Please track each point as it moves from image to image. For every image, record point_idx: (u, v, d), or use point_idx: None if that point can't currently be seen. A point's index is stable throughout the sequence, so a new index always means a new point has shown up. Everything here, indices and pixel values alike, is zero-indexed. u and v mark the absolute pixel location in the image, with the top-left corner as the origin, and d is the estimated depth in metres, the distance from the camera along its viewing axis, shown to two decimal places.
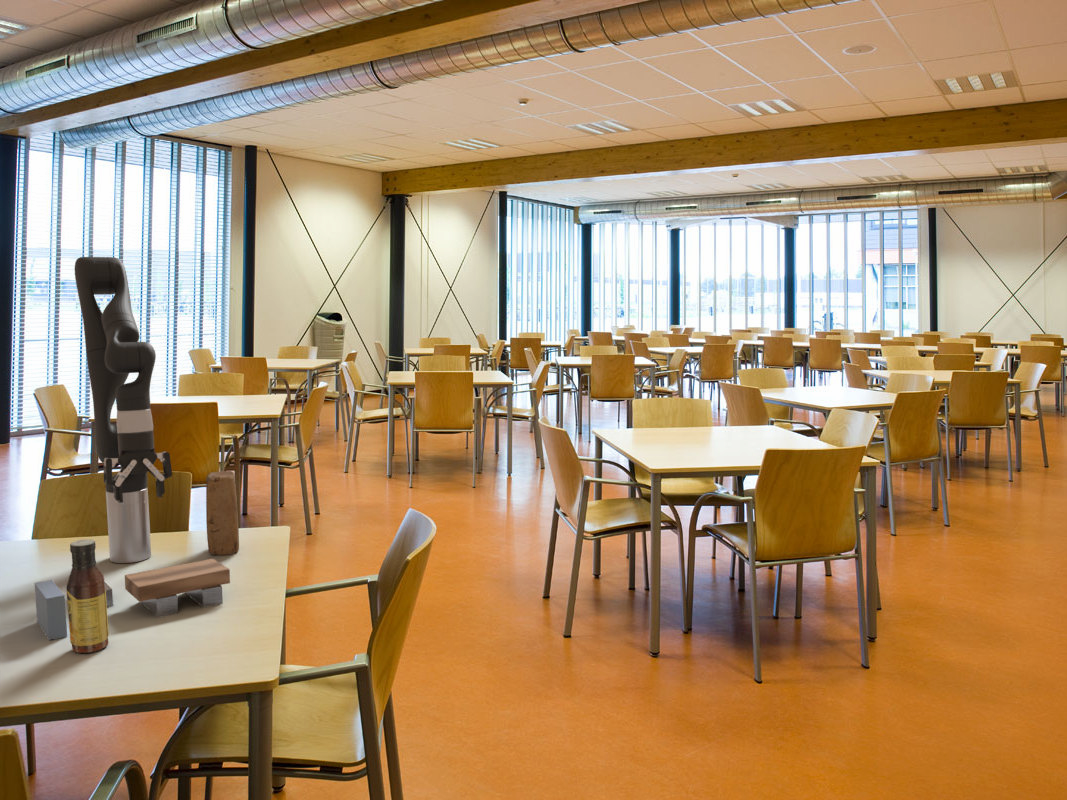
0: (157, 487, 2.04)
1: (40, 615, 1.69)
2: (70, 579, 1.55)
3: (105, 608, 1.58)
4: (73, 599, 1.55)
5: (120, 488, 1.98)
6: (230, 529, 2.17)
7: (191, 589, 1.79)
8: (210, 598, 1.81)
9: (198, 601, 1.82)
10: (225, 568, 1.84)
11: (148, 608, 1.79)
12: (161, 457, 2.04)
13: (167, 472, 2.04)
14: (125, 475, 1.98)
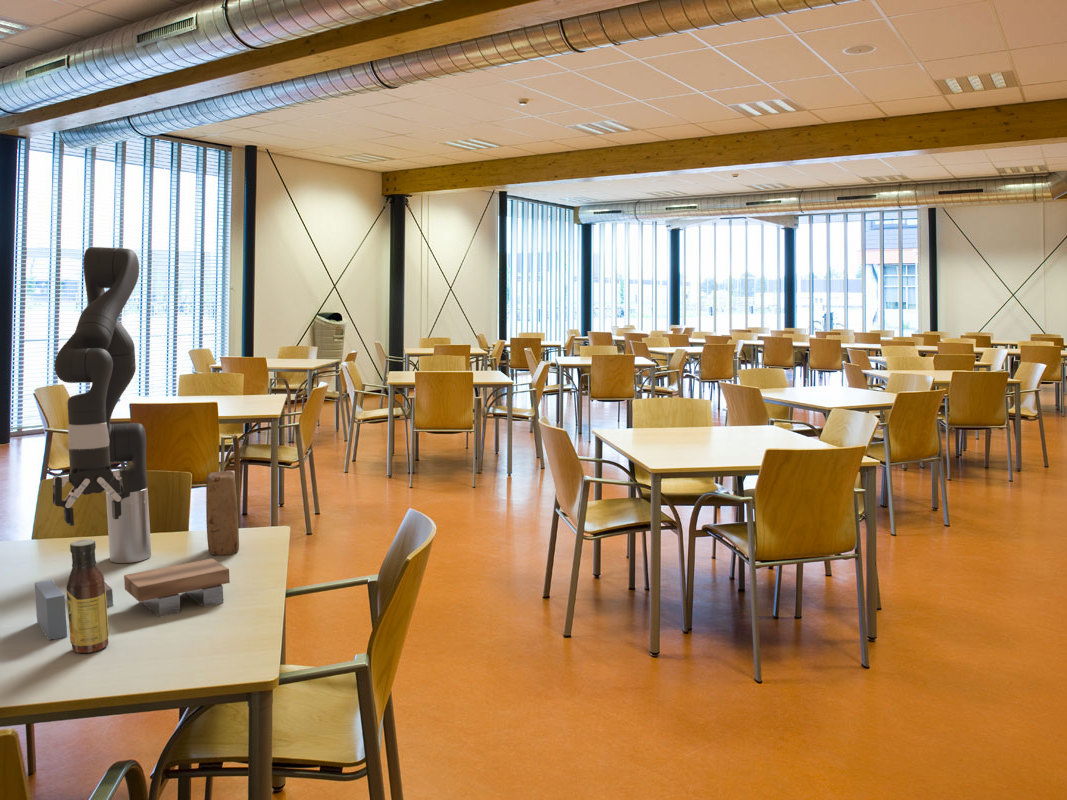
0: (113, 508, 1.85)
1: (40, 615, 1.69)
2: (70, 579, 1.55)
3: (105, 608, 1.58)
4: (73, 599, 1.55)
5: (71, 510, 1.79)
6: (230, 529, 2.17)
7: (191, 589, 1.79)
8: (211, 598, 1.81)
9: (199, 601, 1.83)
10: (225, 568, 1.84)
11: (150, 608, 1.79)
12: (118, 475, 1.85)
13: (124, 492, 1.86)
14: (77, 495, 1.79)
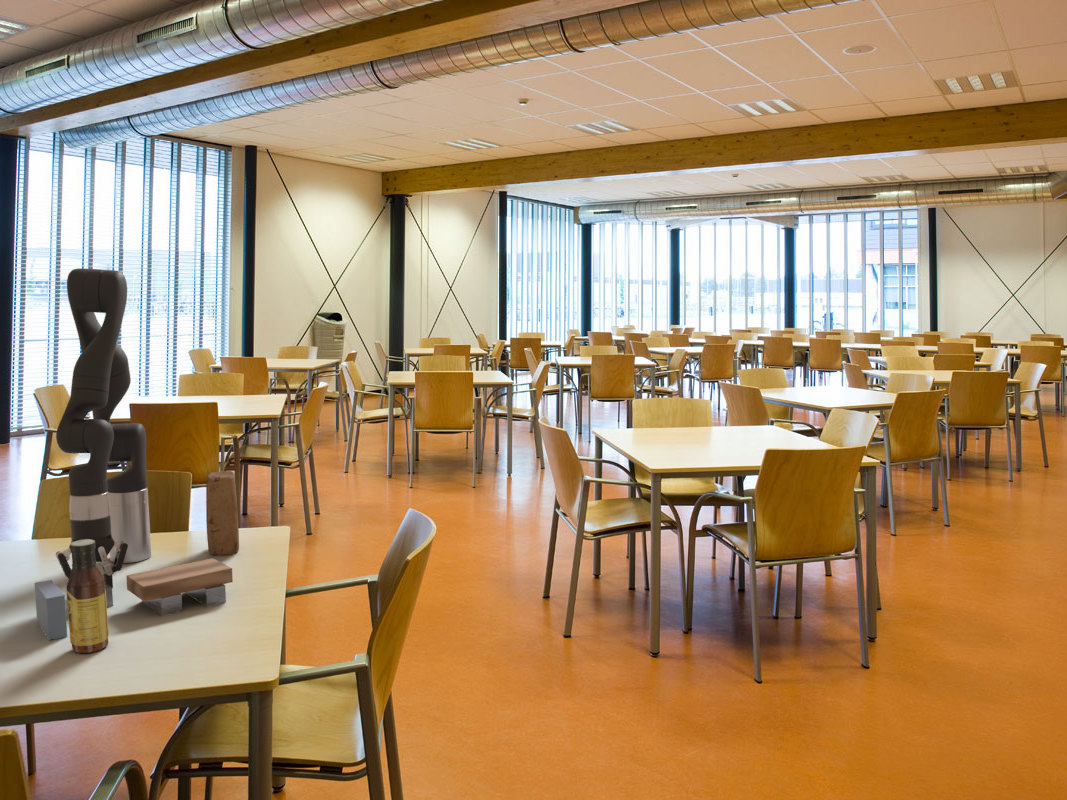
0: (105, 581, 1.86)
1: (40, 615, 1.69)
2: (70, 579, 1.55)
3: (105, 608, 1.58)
4: (73, 599, 1.55)
5: None
6: (230, 529, 2.17)
7: (195, 588, 1.80)
8: (214, 597, 1.82)
9: (201, 601, 1.83)
10: (227, 567, 1.85)
11: (151, 607, 1.80)
12: (118, 547, 1.86)
13: (116, 565, 1.86)
14: None
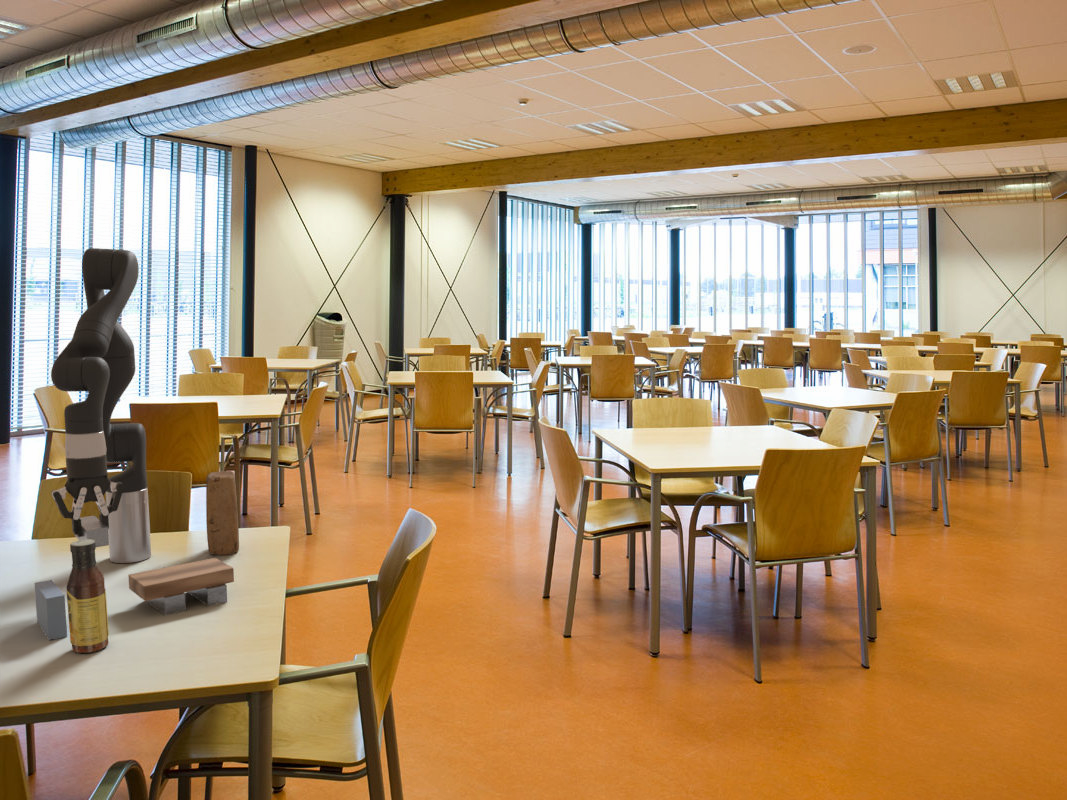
0: None
1: (40, 615, 1.69)
2: (70, 579, 1.55)
3: (105, 608, 1.58)
4: (73, 599, 1.55)
5: (79, 521, 1.81)
6: (230, 529, 2.17)
7: (196, 588, 1.80)
8: (215, 597, 1.82)
9: (202, 600, 1.83)
10: (229, 567, 1.85)
11: (155, 607, 1.80)
12: (114, 487, 1.85)
13: (112, 506, 1.85)
14: (80, 506, 1.80)
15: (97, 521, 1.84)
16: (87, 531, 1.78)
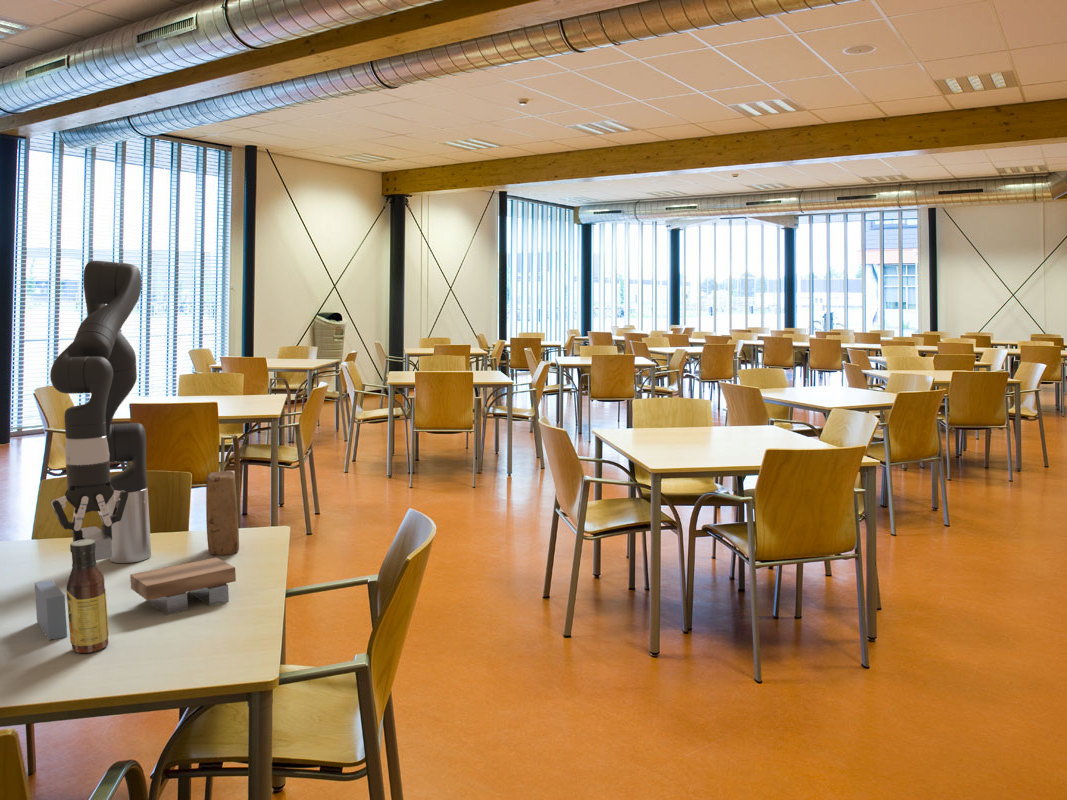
0: None
1: (40, 615, 1.69)
2: (70, 579, 1.55)
3: (105, 608, 1.58)
4: (73, 599, 1.55)
5: (80, 532, 1.69)
6: (230, 529, 2.17)
7: (198, 588, 1.80)
8: (216, 597, 1.82)
9: (204, 600, 1.83)
10: (231, 566, 1.86)
11: (156, 606, 1.80)
12: (117, 496, 1.73)
13: (115, 515, 1.73)
14: (81, 516, 1.69)
15: (99, 532, 1.73)
16: None
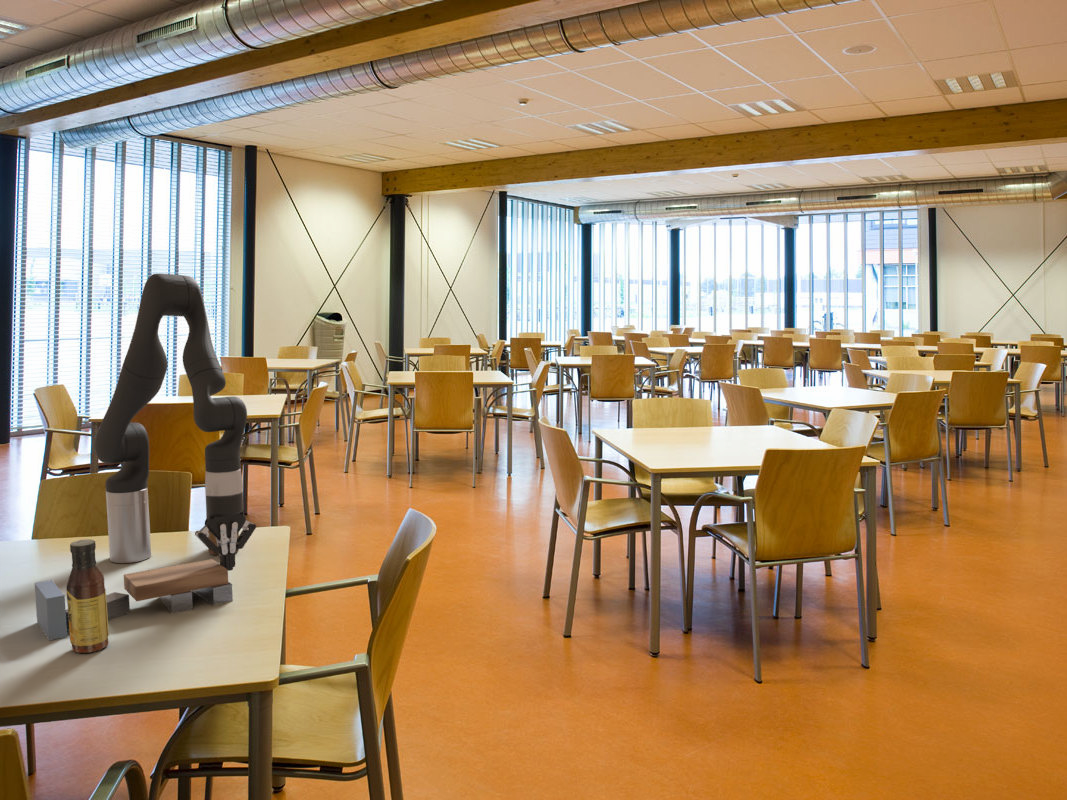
0: None
1: (40, 615, 1.69)
2: (70, 579, 1.55)
3: (105, 608, 1.58)
4: (73, 599, 1.55)
5: (227, 556, 1.88)
6: None
7: (189, 589, 1.79)
8: (220, 596, 1.82)
9: (208, 599, 1.84)
10: (223, 568, 1.84)
11: (165, 604, 1.82)
12: (246, 525, 1.90)
13: (238, 543, 1.89)
14: (225, 541, 1.86)
15: None
16: None
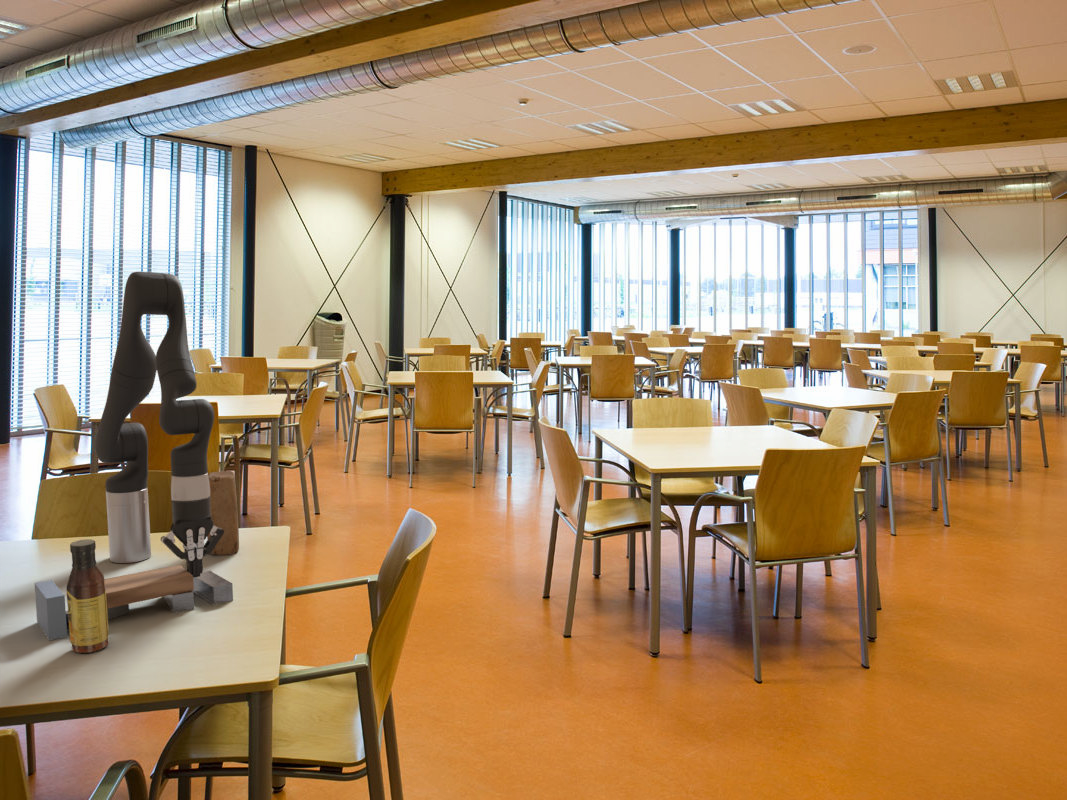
0: None
1: (40, 615, 1.69)
2: (70, 579, 1.55)
3: (105, 608, 1.58)
4: (73, 599, 1.55)
5: (194, 562, 1.83)
6: (230, 529, 2.17)
7: (152, 597, 1.75)
8: (221, 595, 1.83)
9: (208, 599, 1.84)
10: (189, 575, 1.80)
11: (168, 603, 1.82)
12: (214, 531, 1.86)
13: (206, 549, 1.84)
14: (191, 547, 1.82)
15: None
16: None
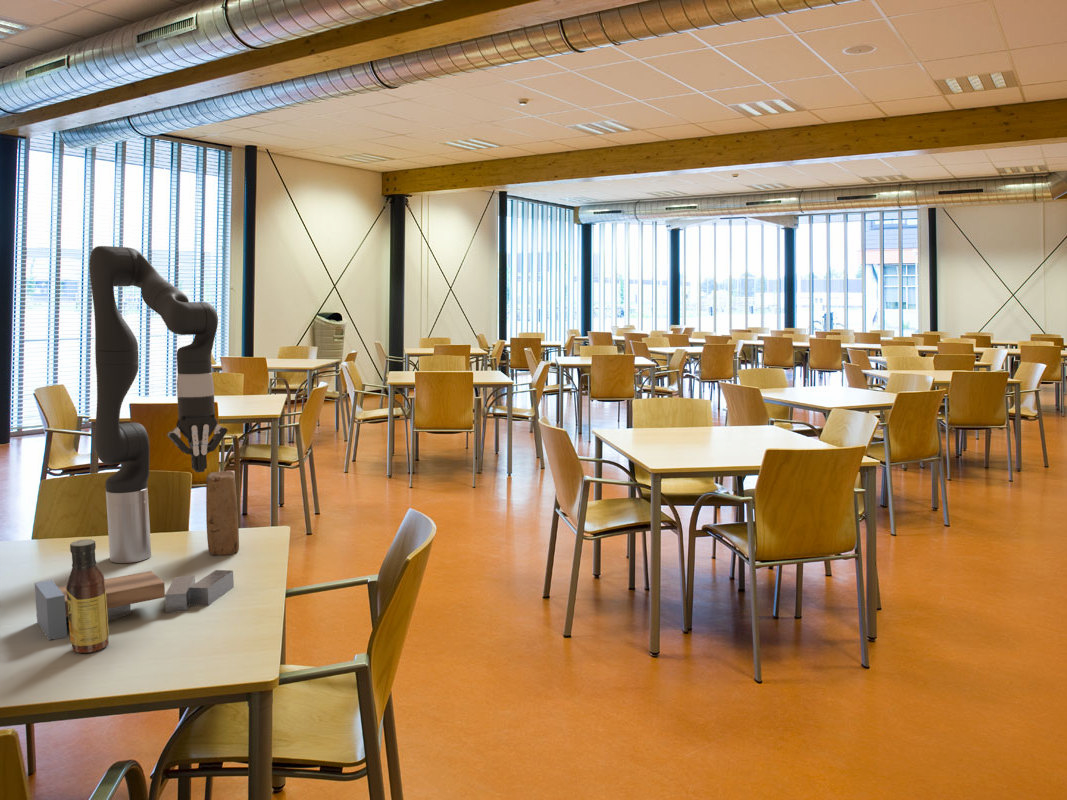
0: None
1: (40, 615, 1.69)
2: (70, 579, 1.55)
3: (105, 608, 1.58)
4: (73, 599, 1.55)
5: (198, 457, 1.93)
6: (230, 529, 2.17)
7: (122, 604, 1.71)
8: (196, 597, 1.81)
9: None
10: (160, 582, 1.76)
11: None
12: (218, 429, 1.96)
13: (210, 446, 1.94)
14: (196, 442, 1.92)
15: None
16: None
